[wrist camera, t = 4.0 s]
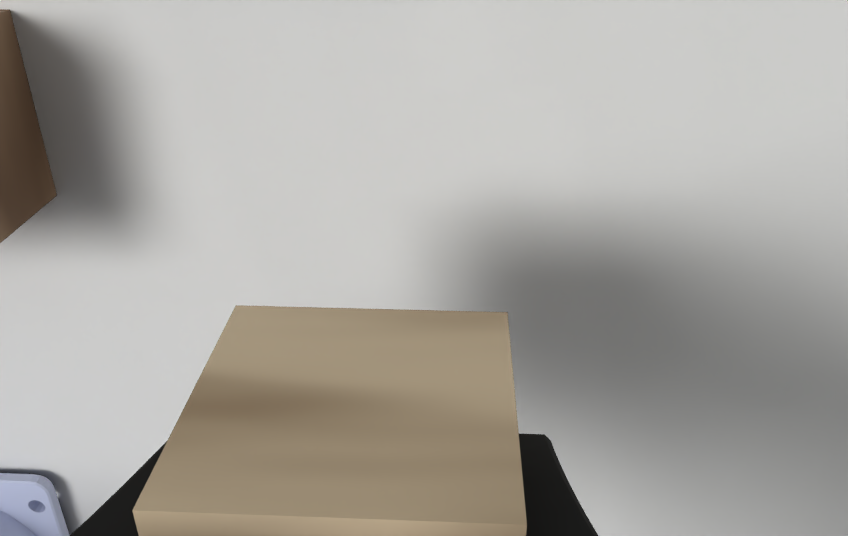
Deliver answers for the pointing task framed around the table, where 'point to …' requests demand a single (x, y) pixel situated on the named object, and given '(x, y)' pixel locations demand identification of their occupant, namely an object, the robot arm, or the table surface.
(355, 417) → the oak cube
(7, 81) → the walnut cube
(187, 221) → the table surface
